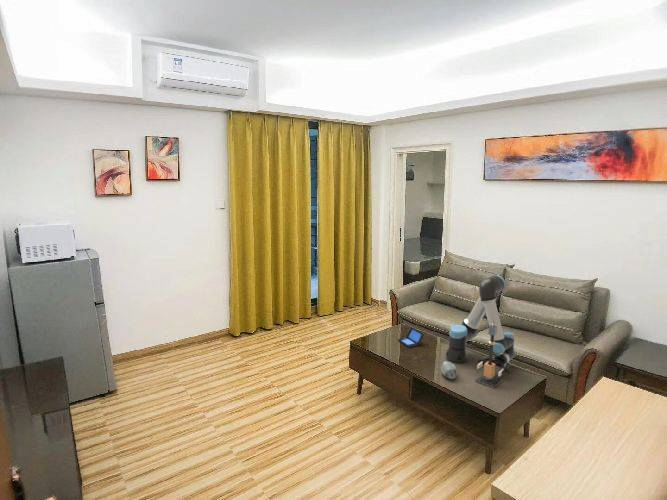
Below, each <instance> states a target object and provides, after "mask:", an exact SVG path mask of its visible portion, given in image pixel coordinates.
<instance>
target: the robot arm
mask: <svg viewBox="0 0 667 500" xmlns="http://www.w3.org/2000/svg"><path fill="white" fill-rule="evenodd" d="M506 286H507V285H506V280H505V279H504V277H502V276H501V275H499V274H493V275H490V276H488V277H485V278H484V279H482V280H481V281H480V283H479V286H478V292H479V297H478V299H477V300H476V302H475V304H474V306H473V308H472V309H471V311H470V313H469V315H468V316H467V317H465V318H464V319H463V321H462V323H461V324H454V325H452V326H451V327H449V338H448V348H447V350H446V353H445V360H446V361H448V362H451V363H453V364H454V363H455V364H464V363H466V362H468V360H469V359H468V356H469V355H468V353H467V342H468V341H471V340H472V339H473V338H474V339H475V337H476V336H477V335H478V333H479V329H480V323H481V321H482V319H483V318H484V316H485V315H486V319H487V320H486V321H487V323H488V327H489V326H491V325H492V323H494V326H497V334H496V335H494V341H495V345H493V353H494V354H495V357H494V358H492V363H494V364H495V367H498V368H499V369H501V370H500V371H498V373H497V374H498V375H497V376H498V377H502V375H505V374H508V375H509V374H510V363H509V362H510V361H512V360H513V359H514V358H515V357H516V351H515V349H514V348H515V347H514V346H515V333H513V332H512V331H511V332H510V331H503V327H502V324H501V319H500V316H499V311H498V307H497V302H496V300H497V298H498V296H499V295H500V293H501V292H502V291H504V289H505V288H506ZM488 361H489V356H488V357H486V358H480V359H479V358H478V359H477V365H476V370H479V369H480V368H481V367H484V364H485V363H486V362H488Z"/></svg>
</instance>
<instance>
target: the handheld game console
mask: <svg viewBox="0 0 667 500" xmlns="http://www.w3.org/2000/svg"><path fill="white" fill-rule="evenodd" d="M423 337H424V333H423V332H421V331H419V330H417V329H416V328H414V327H410V329H409V331H408V333H407V334H406V336H405V337H401V338H397V341H398V343H400V344H401V345H403V346H405V347H407V348H408V349H411V348H416V347H419V346H420V343H421V342H422V339H423Z"/></svg>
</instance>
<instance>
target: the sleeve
mask: <svg viewBox="0 0 667 500" xmlns="http://www.w3.org/2000/svg"><path fill="white" fill-rule="evenodd" d="M483 373H484V374H483ZM483 373H482V374H483V376H486V377H489V378H492V377H495V374H496V365H495V364H494V363H492V365H489V364H488V362H486V363H485V364H484V365H483Z"/></svg>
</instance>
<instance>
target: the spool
mask: <svg viewBox="0 0 667 500" xmlns="http://www.w3.org/2000/svg"><path fill="white" fill-rule="evenodd" d="M440 371H441V373H442V375H443V376H444V377H446V378H447V379H449V380H454V379H456V377H457V367H456V365H455V364H454V363H453V362H451V361H449V360H446V361H444V362H442V363H441V367H440Z"/></svg>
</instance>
